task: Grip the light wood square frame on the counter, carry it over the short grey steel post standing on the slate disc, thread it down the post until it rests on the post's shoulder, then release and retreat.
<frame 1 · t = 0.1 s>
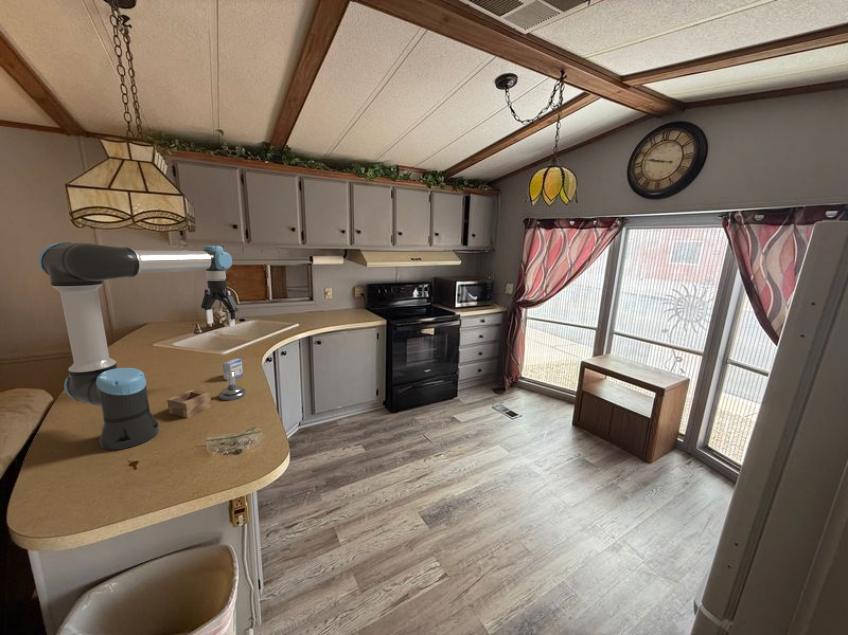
hand: (221, 324, 157), 28 cm above the counter, fingers open, 13 cm apart
light wood square frame: (190, 410, 133), on the counter
medicine box: (233, 377, 166), on the counter
post stand: (232, 395, 146), on the counter
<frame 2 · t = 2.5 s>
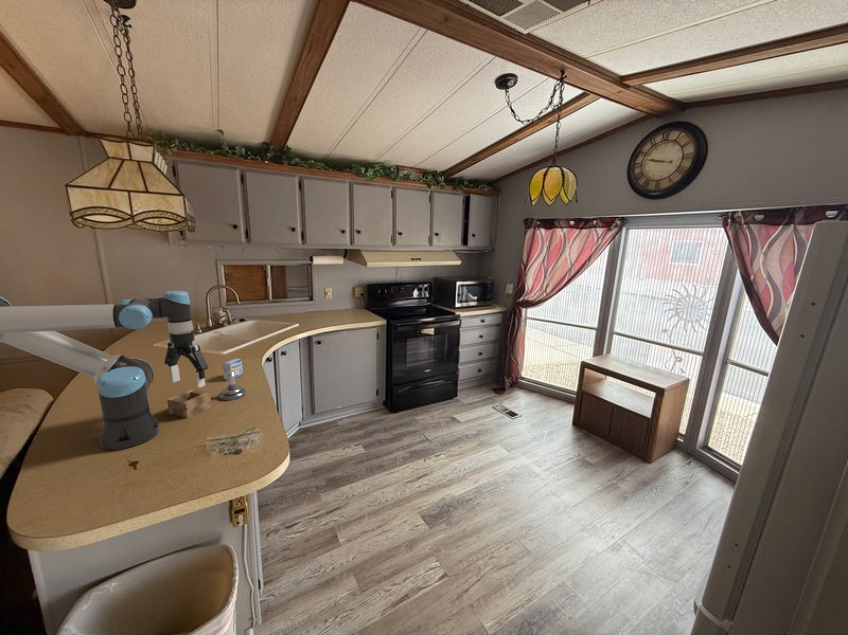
hand: (188, 383, 131), 11 cm above the counter, fingers open, 13 cm apart
nothing on the counter moved.
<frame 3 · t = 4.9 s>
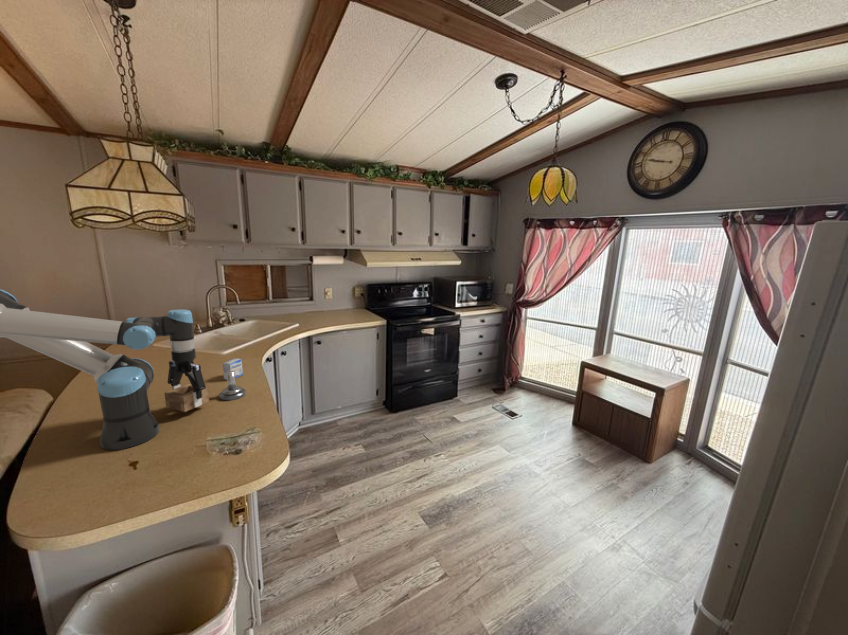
hand: (188, 403, 132), 3 cm above the counter, fingers closed on light wood square frame, 10 cm apart
light wood square frame: (188, 404, 132), point 3 cm above the counter, touching gripper
everything else where it was.
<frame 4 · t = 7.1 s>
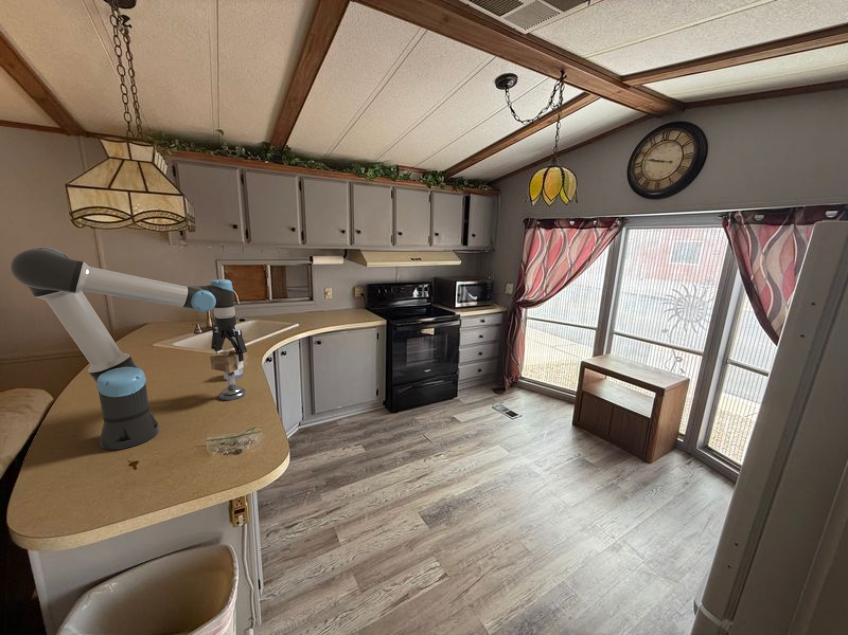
hand: (230, 366, 144), 13 cm above the counter, fingers closed on light wood square frame, 10 cm apart
light wood square frame: (230, 366, 144), point 13 cm above the counter, touching gripper
everything else where it was.
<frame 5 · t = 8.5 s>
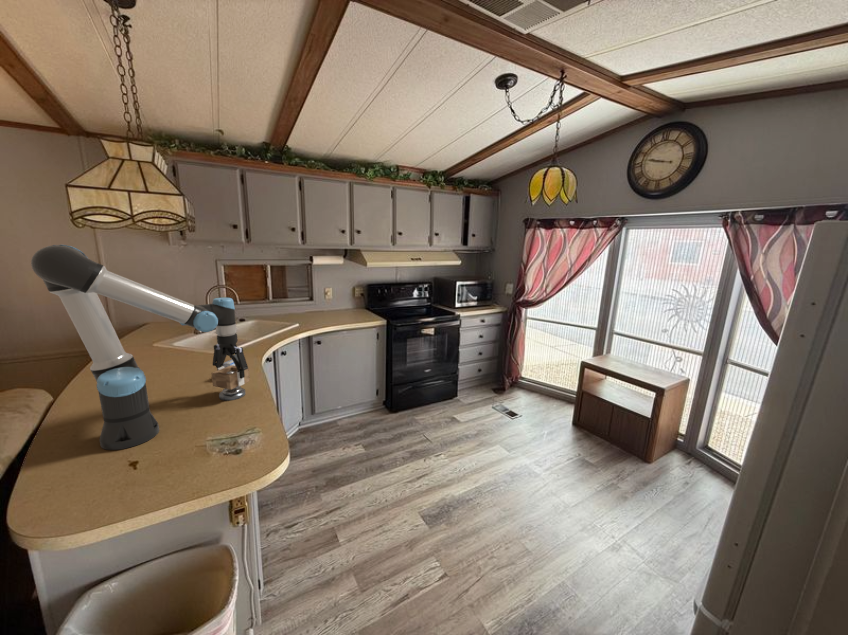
hand: (231, 383, 145), 6 cm above the counter, fingers closed on light wood square frame, 10 cm apart
light wood square frame: (231, 383, 145), point 6 cm above the counter, touching gripper
everything else where it was.
when the fingers open (4 cm above the counter, at t = 9.4 s): light wood square frame drops 1 cm, resting on post stand.
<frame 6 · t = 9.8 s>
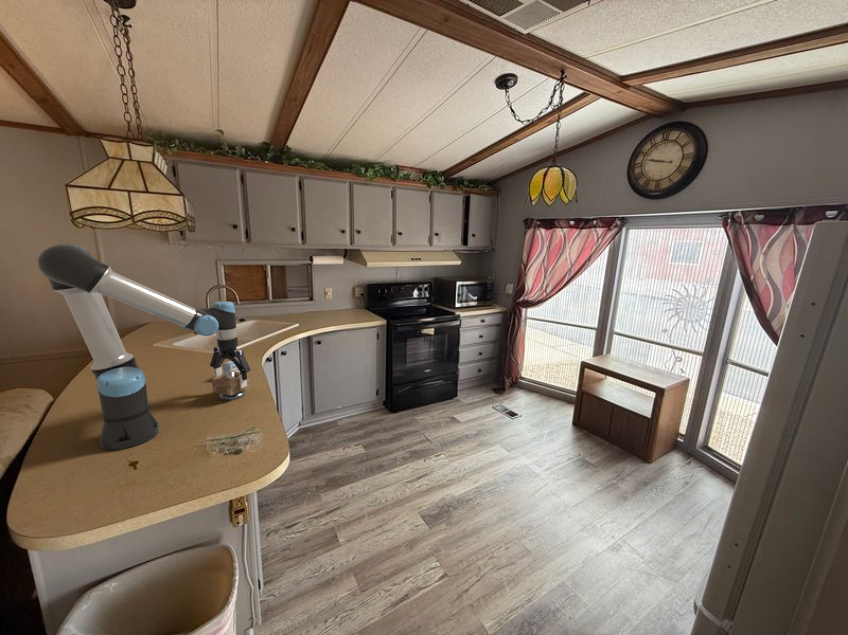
hand: (231, 384, 145), 5 cm above the counter, fingers open, 13 cm apart
light wood square frame: (231, 389, 146), point 3 cm above the counter, touching post stand
everything else where it was.
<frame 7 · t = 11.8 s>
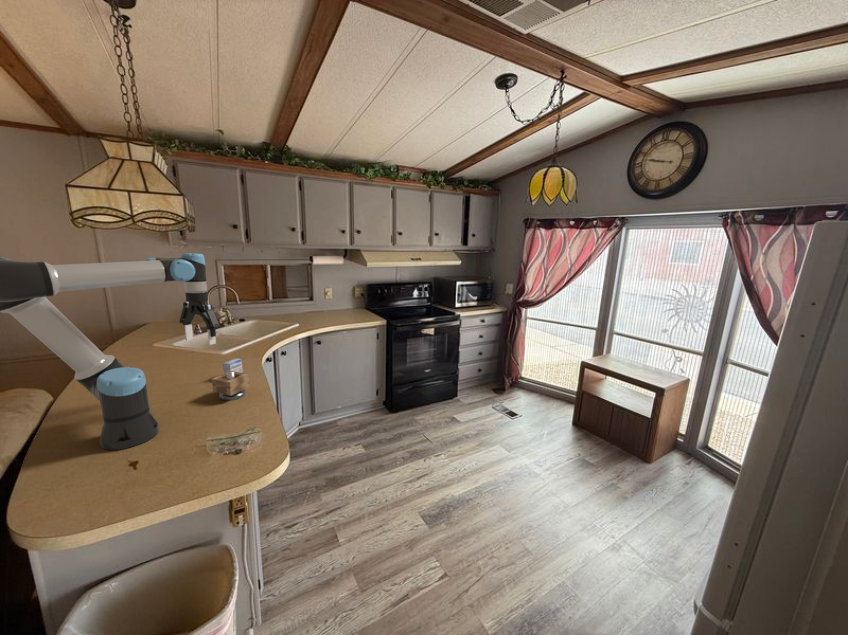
hand: (200, 342, 139), 25 cm above the counter, fingers open, 13 cm apart
nothing on the counter moved.
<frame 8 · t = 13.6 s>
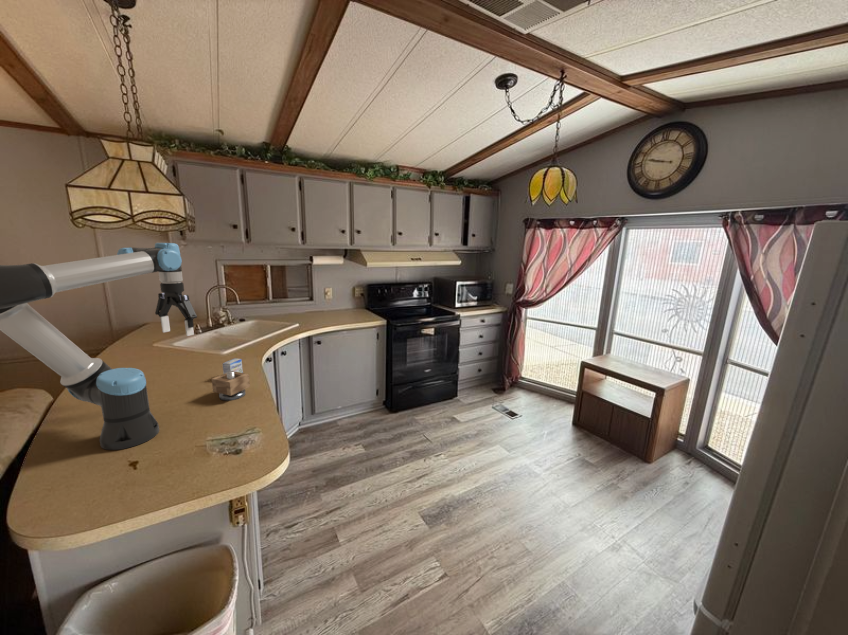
hand: (178, 333, 137), 29 cm above the counter, fingers open, 13 cm apart
nothing on the counter moved.
at the end: light wood square frame 0.0 cm off-centre on the post stand, point 3.0 cm above the post stand's base; the gripper is holding nothing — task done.
